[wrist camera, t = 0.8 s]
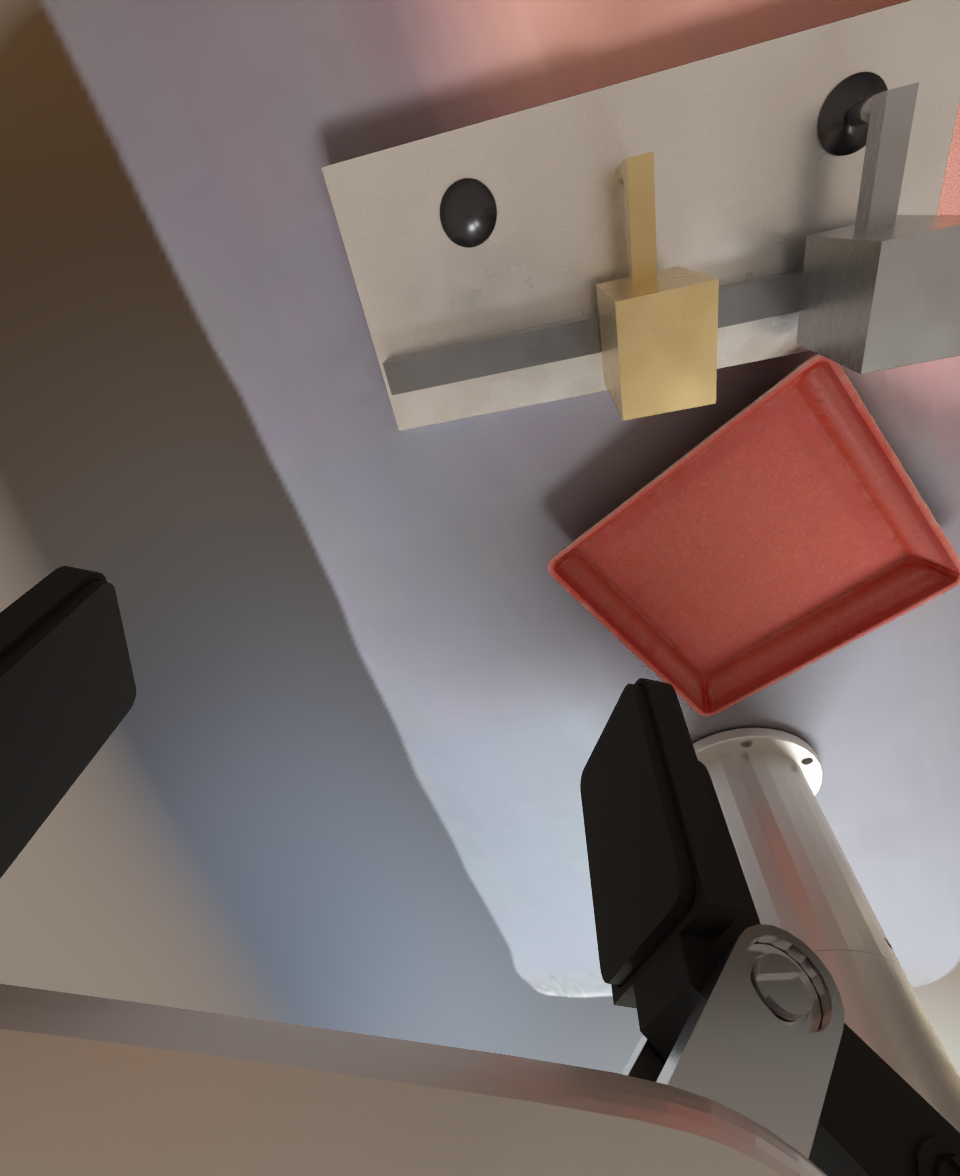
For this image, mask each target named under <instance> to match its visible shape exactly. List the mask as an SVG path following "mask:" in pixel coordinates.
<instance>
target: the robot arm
mask: <svg viewBox="0 0 960 1176" xmlns="http://www.w3.org/2000/svg"><path fill="white" fill-rule="evenodd" d="M135 696H136V686H135V682H134V677H133V672H132V667H131V663H130V658H129V653H128V649H127V644H126V639H125V634H124V629H123V625H122V620H121V615H120V610H119V606H118V601H117V596H116V592H115V588H114V586H113V585H112V584H110V583H107V581H106V578H105V576H104V575H103V574H101V573H98V572H94V571H89V570H84V569H78V568H73V567H68V566H63V567H59V568H58V569H56V570H55V571H53V572H52V573H50V574H49V575H48V576H47V577H45V578H44V579H43V580H42V581H40V582H39V583H38V584H36V585H35V586H34V587H33V588H31V589H30V590H29V591H28V592H26V593H25V594H24V595H22V596H21V597H20V598H19V599H17V600H16V601H15V602H14V603H12V604H11V605H10V606H8V607H7V608H6V609H5V610H3V611H2V612H1V613H0V878H1V877H2V876H3V874H4V873H5V872H6V870H7V869H8V868H9V866H10V865H11V864H12V863H13V861H14V860H15V859H16V857H17V856H18V855H19V853H20V852H21V851H22V850H23V848H24V847H25V846H26V844H27V843H28V842H29V840H30V839H31V838H32V836H33V835H34V834H35V833H36V831H37V830H38V829H39V827H40V826H41V825H42V824H43V822H44V821H45V820H46V818H47V817H48V816H49V814H50V813H51V812H52V811H53V809H54V808H55V807H56V805H57V804H58V803H59V801H60V800H61V799H62V798H63V796H64V795H65V794H66V792H67V791H68V790H69V788H70V787H71V786H72V784H73V783H74V781H76V779H77V778H78V777H79V775H80V774H81V773H82V771H83V770H84V769H85V767H86V766H87V765H88V764H89V762H90V761H91V760H92V758H93V757H94V756H95V755H96V753H97V752H98V751H99V749H100V748H101V747H102V745H103V744H104V743H105V742H106V740H107V739H108V738H109V736H110V735H111V733H112V732H113V731H114V730H115V729H116V727H117V726H118V725H119V723H120V722H121V720H122V719H123V718H124V717H125V716H126V714H127V713H128V712H129V710H130V709H131V707H132V705H133V703H134V700H135ZM822 781H823V768H822V765H821V762H820V760H819V759H818V757H817V755H816V753H815V751H814V750H813V749H812V748H811V747H810V746H809V745H808V744H807V743H806V742H805V741H803V740H802V739H800V738H799V737H797V736H795V735H792V734H789V733H787V732H784V731H779V730H774V729H768V728H740V729H734V730H729V731H723V732H720V733H717V734H714V735H711V736H708V737H706V738H704V739H701V740H699V741H697V742H695V743H694V744H692V741H691V738H690V735H689V731H688V728H687V725H686V722H685V719H684V716H683V713H682V710H681V707H680V704H679V701H678V698H677V695H676V692H675V689H674V687H673V686H672V685H671V684H670V683H664V682H659V681H654V680H649V679H644V678H640V679H638V680H637V681H636V683H635V685H634V684H628V685H626V687H625V688H624V690H623V692H622V694H621V696H620V698H619V700H618V702H617V704H616V706H615V708H614V710H613V712H612V714H611V716H610V718H609V720H608V722H607V724H606V726H605V728H604V730H603V732H602V734H601V736H600V738H599V740H598V742H597V744H596V746H595V748H594V750H593V752H592V754H591V756H590V758H589V760H588V762H587V764H586V766H585V768H584V770H583V772H582V776H581V786H580V787H581V798H582V807H583V816H584V825H585V834H586V843H587V852H588V861H589V870H590V879H591V888H592V897H593V906H594V915H595V924H596V933H597V942H598V951H599V960H600V969H601V974H602V977H603V980H604V981H605V983H608V984H611V985H612V993H613V1001H614V1005H618V1006H625V1007H632V1008H637V1012H638V1019H639V1025H640V1031H641V1032H642V1033H643V1036H642V1038H641V1040H640V1041H639V1043H638V1045H637V1047H636V1049H635V1050H634V1052H633V1054H632V1056H631V1058H630V1060H629V1061H628V1063H627V1065H626V1067H625V1069H624V1070H623V1072H622V1074H618V1073H612V1072H606V1071H601V1070H595V1069H589V1068H582V1067H576V1066H570V1065H564V1064H558V1063H552V1062H546V1061H540V1060H534V1059H528V1058H522V1057H516V1056H510V1055H503V1054H496V1053H489V1052H482V1051H475V1050H469V1049H461V1048H455V1047H448V1046H441V1045H434V1044H427V1043H420V1042H414V1041H407V1040H400V1039H393V1038H386V1037H379V1036H372V1035H365V1034H358V1033H351V1032H345V1031H338V1030H330V1029H323V1028H316V1027H309V1026H302V1025H294V1024H288V1023H281V1022H273V1021H266V1020H259V1019H252V1018H245V1017H238V1016H231V1015H224V1014H217V1013H209V1012H202V1011H195V1010H188V1009H181V1008H174V1007H166V1006H159V1005H152V1004H145V1003H137V1002H131V1001H123V1000H116V999H109V998H101V997H94V996H86V995H79V994H72V993H64V992H56V991H49V990H42V989H35V988H27V987H19V986H12V985H5V984H0V1176H960V1077H959V1075H958V1073H957V1071H956V1069H955V1067H954V1066H953V1064H952V1062H951V1060H950V1058H949V1056H948V1055H947V1053H946V1051H945V1049H944V1047H943V1045H942V1043H941V1042H940V1040H939V1038H938V1036H937V1034H936V1032H935V1031H934V1029H933V1027H932V1025H931V1023H930V1021H929V1019H928V1018H927V1016H926V1014H925V1012H924V1010H923V1008H922V1006H921V1004H920V1002H919V1000H918V998H917V996H916V995H915V993H914V991H913V989H912V987H911V985H910V983H909V981H908V979H907V977H906V975H905V973H904V971H903V969H902V968H901V966H900V963H899V961H898V959H897V957H896V955H895V953H894V951H893V949H892V947H891V945H890V943H889V941H888V939H887V937H886V936H885V934H884V932H883V930H882V928H881V926H880V924H879V922H878V920H877V918H876V916H875V914H874V912H873V910H872V908H871V906H870V904H869V902H868V900H867V898H866V896H865V894H864V893H863V891H862V889H861V887H860V885H859V883H858V881H857V879H856V877H855V875H854V873H853V871H852V869H851V867H850V865H849V863H848V861H847V859H846V857H845V855H844V853H843V851H842V849H841V847H840V845H839V843H838V841H837V839H836V837H835V835H834V833H833V831H832V829H831V828H830V826H829V824H828V822H827V820H826V818H825V816H824V814H823V812H822V810H821V808H820V806H819V804H818V802H817V800H816V798H815V795H816V794H817V792H818V791H819V789H820V786H821V784H822Z"/></svg>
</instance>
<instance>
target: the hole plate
mask: <svg viewBox="0 0 960 1176" xmlns="http://www.w3.org/2000/svg"><path fill="white" fill-rule="evenodd" d="M959 100H960V0H911V1H907V2H904V3H900V4H897V5H893V6H889V7H886V8H882V9H879V10H875V11H872V12H868V13H865V14H861V15H858V16H854V17H851V18H847V19H844V20H840V21H837V22H833V23H830V24H826V25H822V26H819V27H815V28H812V29H808V30H805V31H801V32H798V33H794V34H791V35H787V36H784V37H780V38H777V39H773V40H770V41H766V42H762V43H759V44H755V45H752V46H748V47H745V48H741V49H738V50H734V51H731V52H727V53H724V54H720V55H717V56H713V57H710V58H706V59H702V60H699V61H695V62H692V63H688V64H685V65H681V66H678V67H674V68H671V69H667V70H664V71H660V72H657V73H653V74H650V75H646V76H643V77H639V78H635V79H632V80H628V81H625V82H621V83H618V84H614V85H611V86H607V87H604V88H600V89H597V90H593V91H590V92H586V93H583V94H579V95H575V96H572V97H568V98H565V99H561V100H558V101H554V102H551V103H547V104H544V105H540V106H537V107H533V108H530V109H526V110H523V111H519V112H515V113H512V114H508V115H505V116H501V117H498V118H494V119H491V120H487V121H484V122H480V123H477V124H473V125H470V126H466V127H463V128H459V129H456V130H452V131H448V132H445V133H441V134H438V135H434V136H431V137H427V138H424V139H420V140H417V141H413V142H410V143H406V144H403V145H399V146H396V147H392V148H388V149H385V150H381V151H378V152H374V153H371V154H367V155H364V156H360V157H357V158H353V159H350V160H346V161H343V162H339V163H336V164H332V165H329V166H325V167H321V168H322V171H323V175H324V178H325V181H326V185H327V188H328V192H329V195H330V198H331V202H332V205H333V209H334V212H335V215H336V219H337V222H338V226H339V229H340V232H341V236H342V239H343V243H344V246H345V249H346V253H347V256H348V260H349V263H350V266H351V270H352V273H353V276H354V280H355V283H356V287H357V290H358V293H359V297H360V300H361V304H362V307H363V310H364V314H365V317H366V321H367V324H368V327H369V331H370V334H371V338H372V341H373V344H374V348H375V351H376V355H377V358H378V361H379V365H380V368H381V372H382V375H383V378H384V382H385V385H386V389H387V392H388V395H389V399H390V402H391V405H392V409H393V412H394V416H395V419H396V422H397V426H398V429H399V431H401V430H406V429H411V428H416V427H422V426H427V425H432V424H437V423H442V422H447V421H452V420H457V419H463V418H468V417H473V416H478V415H483V414H488V413H493V412H498V411H504V410H509V409H514V408H519V407H524V406H529V405H534V404H540V403H545V402H550V401H555V400H560V399H565V398H570V397H575V396H581V395H586V394H591V393H596V392H601V391H606V390H607V388H606V386H605V384H604V374H603V362H602V350H601V338H600V326H599V315H598V303H597V291H596V284H600V283H604V282H608V281H613V280H617V279H622V278H626V277H629V272H628V254H627V236H626V218H625V200H624V184H623V183H621V182H620V180H619V177H618V171H619V168H620V166H621V165H622V164H623V163H622V160H624V159H626V158H630V157H634V156H638V155H642V154H645V153H649V152H653V151H654V180H655V213H656V247H657V270H661V269H666V268H670V267H675V266H681V267H684V268H687V269H690V270H693V271H696V272H699V273H702V274H705V275H708V276H711V277H714V278H717V279H719V294H718V337H717V369H719V368H724V367H729V366H735V365H740V364H745V363H750V362H755V361H760V360H765V359H770V358H776V357H781V356H786V355H791V354H796V353H801V352H806V351H813V352H815V353H817V354H819V355H822V356H824V357H826V358H828V359H830V360H832V361H834V362H836V363H838V364H841V365H843V366H845V367H847V368H849V369H851V370H853V371H855V372H858V373H860V374H864V373H869V372H874V371H880V370H885V369H891V368H896V367H901V366H907V365H912V364H918V363H923V362H928V361H934V360H939V359H944V358H950V357H955V356H960V215H936V214H937V209H938V204H939V199H940V194H941V189H942V184H943V179H944V174H945V169H946V164H947V159H948V154H949V149H950V145H951V140H952V135H953V130H954V125H955V120H956V115H957V110H958V105H959Z"/></svg>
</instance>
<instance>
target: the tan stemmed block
mask: <svg viewBox="0 0 960 1176" xmlns="http://www.w3.org/2000/svg"><path fill="white" fill-rule="evenodd" d="M622 163H623V164H622V165H621V166H620V168H619V171H618V177H619V180H620V182H621V183H623V184H624V200H625V218H626V236H627V254H628V272H629V277H626V278H622V279H617V280H613V281H608V282H604V283H600V284H596V291H597V303H598V315H599V326H600V338H601V350H602V362H603V374H604V384H605V386H606V388H607V390H608V392H609V394H610V396H611V398H612V400H613V402H614V404H615V406H616V408H617V410H618V412H619V414H620V416H621V418H622V420H623V421H624V420H630V419H635V418H640V417H646V416H651V415H657V414H662V413H667V412H673V411H678V410H684V409H689V408H694V407H700V406H705V405H711V404H716V379H717V337H718V294H719V279H717V278H714V277H711V276H708V275H705V274H702V273H699V272H696V271H693V270H690V269H687V268H684V267H681V266H675V267H670V268H666V269H661V270H657V247H656V213H655V180H654V151H653V152H649V153H645V154H642V155H638V156H634V157H630V158H626V159H624V160H622Z"/></svg>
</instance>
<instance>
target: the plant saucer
mask: <svg viewBox="0 0 960 1176" xmlns="http://www.w3.org/2000/svg"><path fill="white" fill-rule="evenodd" d="M547 570H548V572H549V574H550V575H551V576H552V577H553V578H554V579H555V580H556V581H557V582H559V583H560V584H561V585H562V586H563V587H564V588H565V589H566V590H567V591H568V592H569V593H570V594H571V595H572V596H573V597H574V598H575V599H576V600H577V601H578V602H579V603H581V604H582V605H583V606H584V607H585V608H586V609H587V610H588V611H589V612H590V613H591V614H592V615H593V616H594V617H595V618H596V619H597V620H598V621H599V622H601V623H602V624H603V625H604V626H605V627H606V628H607V629H608V630H609V631H610V632H611V633H612V634H613V635H614V636H615V637H616V638H618V639H619V640H620V641H621V642H622V643H623V644H624V645H625V646H626V647H627V648H628V649H630V650H631V651H632V652H633V653H634V654H635V655H636V656H637V657H638V658H639V659H640V660H641V661H643V663H644V664H645V665H646V666H647V667H649V668H650V669H651V670H652V671H653V672H654V673H655V674H656V675H657V676H658V677H660V678H661V679H662V680H663V681H664V682H665V683H670V684H671V685H672V686H673V687H674V689H675V692H676V693H677V694H678V695H679V696H680V697H681V698H682V699H683V700H684V701H685V702H686V703H687V704H688V705H689V706H690V707H691V708H693V709H694V710H695V711H696V712H697V713H698V714H700V715H701V716H713V715H715V714H717V713H719V712H721V711H723V710H725V709H727V708H729V707H731V706H733V705H735V704H736V703H738V702H740V701H742V700H744V699H746V698H747V697H750V696H752V695H753V694H755V693H757V692H759V691H761V690H763V689H765V688H767V687H768V686H770V685H772V684H774V683H776V682H778V681H780V680H782V679H783V678H785V677H787V676H789V675H791V674H793V673H795V672H796V671H798V670H800V669H803V668H804V667H806V666H808V665H810V664H812V663H814V662H816V661H817V660H819V659H821V658H823V657H825V656H827V655H829V654H831V653H833V652H834V651H836V650H837V649H840V648H842V647H844V646H846V645H848V644H850V643H851V642H853V641H855V640H857V639H859V638H861V637H863V636H864V635H866V634H868V633H870V632H872V631H874V630H875V629H877V628H879V627H881V626H883V625H885V624H887V623H889V622H891V621H893V620H894V619H896V618H898V617H899V616H902V615H904V614H906V613H908V612H910V611H912V610H913V609H915V608H917V607H919V606H921V605H923V604H925V603H927V602H929V601H931V600H933V599H934V598H936V597H938V596H939V595H941V594H943V593H945V592H947V591H949V590H951V589H953V588H954V587H956V586H957V585H959V584H960V558H959V557H958V555H957V553H956V551H955V549H954V548H953V546H952V544H951V543H950V541H949V540H948V539H947V537H946V535H945V534H944V532H943V530H942V529H941V527H940V525H939V524H938V522H937V521H936V520H935V518H934V516H933V514H932V513H931V511H930V509H929V507H928V506H927V504H926V503H925V501H924V500H923V499H922V497H921V495H920V494H919V492H918V490H917V489H916V487H915V485H914V483H913V482H912V480H911V479H910V477H909V476H908V474H907V473H906V471H905V470H904V468H903V466H902V463H901V462H900V460H899V459H898V457H897V456H896V454H895V453H894V452H893V450H892V448H891V446H890V445H889V443H888V442H887V440H886V439H885V437H884V435H883V434H882V432H881V431H880V429H879V428H878V426H877V424H876V422H875V420H874V418H873V417H872V416H871V414H870V413H869V411H868V410H867V408H866V406H865V404H864V403H863V401H862V400H861V398H860V396H859V394H858V392H857V391H856V390H855V388H854V387H853V385H852V383H851V381H850V379H849V378H848V376H847V375H846V373H845V372H844V370H843V368H842V367H841V365H840V364H838V363H836V362H834V361H832V360H830V359H828V358H826V357H824V356H822V355H819V354H816V355H814V356H812V357H810V358H809V359H807V360H806V361H805V362H803V363H802V364H801V365H800V366H798V367H797V368H796V369H795V370H793V371H792V372H791V373H789V374H788V375H787V376H786V377H784V378H783V379H782V380H780V381H779V382H778V383H776V384H775V385H774V386H772V387H771V388H770V389H769V390H767V391H766V392H765V393H763V394H762V395H761V396H760V397H758V398H757V399H756V400H755V401H753V402H752V403H751V404H749V405H748V406H747V407H746V408H744V409H743V410H742V411H740V412H739V413H738V414H736V415H735V416H734V417H733V418H731V419H730V420H729V421H727V422H726V423H725V424H724V425H722V426H721V427H720V428H718V429H717V430H716V431H715V432H713V433H712V434H711V435H709V436H708V437H707V438H705V439H704V440H703V441H702V442H700V443H699V444H698V445H696V446H695V447H694V448H693V449H691V450H690V451H689V452H687V453H686V454H685V455H684V456H682V457H681V458H680V459H678V460H677V461H676V462H675V463H673V464H672V465H671V466H670V467H668V468H667V469H666V470H664V471H663V472H662V473H661V474H659V475H658V476H657V477H656V478H654V479H653V480H652V481H650V482H649V483H648V484H646V485H645V486H644V487H643V488H641V489H640V490H639V491H637V492H636V493H635V494H633V495H632V496H631V497H630V498H628V499H627V500H626V501H624V502H623V503H622V504H621V505H619V506H618V507H617V508H616V509H614V510H613V511H612V512H610V513H609V514H608V515H606V516H605V517H604V518H603V519H601V520H600V521H599V522H597V523H596V524H595V525H593V526H592V527H591V528H589V529H588V530H587V531H586V532H584V533H583V534H582V535H580V536H579V537H578V538H576V539H575V540H574V541H573V542H571V543H570V544H569V545H567V546H566V547H565V548H563V549H562V550H561V551H560V552H558V553H557V554H556V555H554V556H553V557H552V558H551V559H550V560H549V562H548V565H547Z"/></svg>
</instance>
